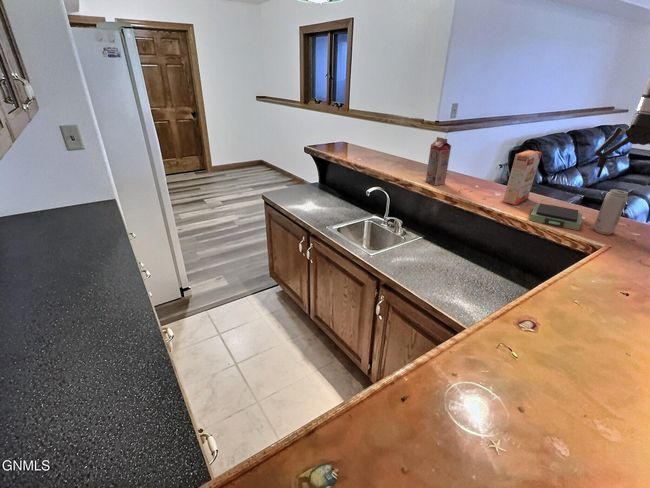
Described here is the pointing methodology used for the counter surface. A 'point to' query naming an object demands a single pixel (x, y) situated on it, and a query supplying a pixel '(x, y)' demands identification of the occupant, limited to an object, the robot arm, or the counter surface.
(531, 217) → the scale
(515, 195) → the cracker box
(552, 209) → the scale pan
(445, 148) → the juice carton
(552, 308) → the counter surface
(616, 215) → the energy drink can
